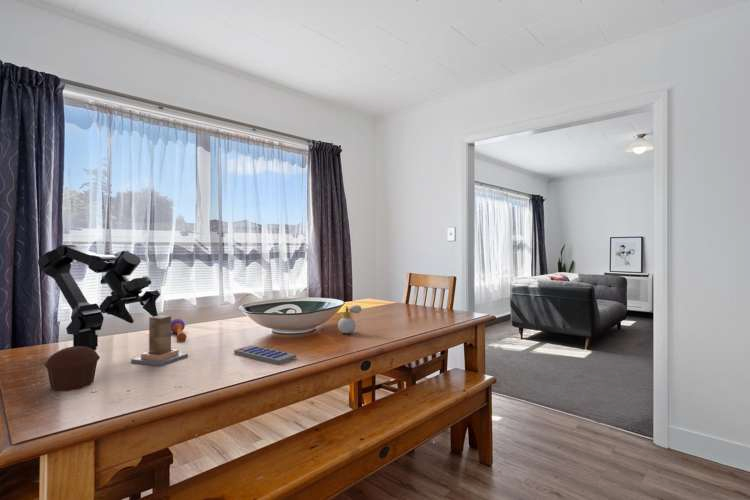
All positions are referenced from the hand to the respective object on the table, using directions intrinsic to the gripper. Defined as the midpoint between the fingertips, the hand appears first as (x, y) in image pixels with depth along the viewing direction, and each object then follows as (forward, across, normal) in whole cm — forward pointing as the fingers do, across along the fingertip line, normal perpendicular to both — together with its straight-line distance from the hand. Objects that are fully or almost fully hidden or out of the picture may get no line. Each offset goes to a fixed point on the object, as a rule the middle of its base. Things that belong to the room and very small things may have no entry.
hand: (145, 319), depth 128 cm
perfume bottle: (+45, +56, -27) cm, 77 cm away
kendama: (0, +27, +18) cm, 33 cm away
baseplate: (+13, 0, +4) cm, 14 cm away
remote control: (+35, +15, -16) cm, 41 cm away
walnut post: (+13, 0, +4) cm, 13 cm away
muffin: (+12, -25, +6) cm, 29 cm away
